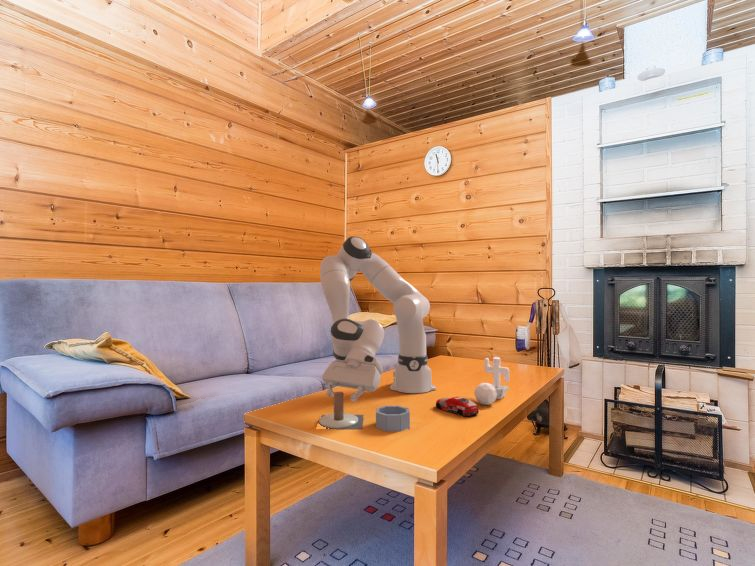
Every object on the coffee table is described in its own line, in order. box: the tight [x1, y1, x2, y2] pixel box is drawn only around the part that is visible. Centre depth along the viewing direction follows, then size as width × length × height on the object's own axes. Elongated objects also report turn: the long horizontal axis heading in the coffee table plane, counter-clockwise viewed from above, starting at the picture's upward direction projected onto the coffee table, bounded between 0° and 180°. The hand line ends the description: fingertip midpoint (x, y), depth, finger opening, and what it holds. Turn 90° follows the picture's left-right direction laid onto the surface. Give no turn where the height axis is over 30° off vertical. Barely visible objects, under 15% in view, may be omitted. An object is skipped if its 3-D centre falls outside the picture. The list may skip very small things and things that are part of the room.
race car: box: [435, 396, 479, 417], centre depth 145 cm, size 16×7×5 cm, turn 37°
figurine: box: [483, 356, 510, 400], centre depth 164 cm, size 7×9×15 cm
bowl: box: [375, 405, 411, 432], centre depth 129 cm, size 10×10×5 cm
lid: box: [318, 391, 358, 430], centre depth 132 cm, size 12×12×9 cm
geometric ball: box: [473, 382, 497, 406], centre depth 154 cm, size 8×8×8 cm
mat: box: [321, 414, 364, 430], centre depth 133 cm, size 14×14×1 cm
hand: (340, 397), depth 134 cm, fingers open, 8 cm apart
